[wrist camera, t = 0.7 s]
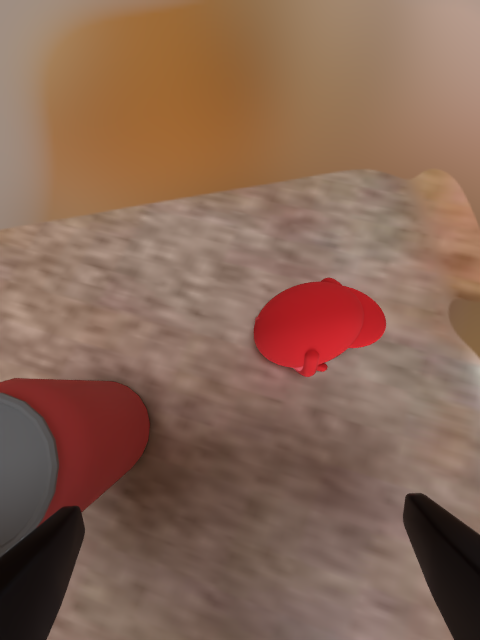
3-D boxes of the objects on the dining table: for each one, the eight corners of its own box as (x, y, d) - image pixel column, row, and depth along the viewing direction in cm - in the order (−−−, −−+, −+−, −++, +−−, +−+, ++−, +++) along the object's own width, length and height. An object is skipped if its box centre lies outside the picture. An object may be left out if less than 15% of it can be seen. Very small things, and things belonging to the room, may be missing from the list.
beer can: (55, 386, 23) (-129, 388, 11) (149, 375, 23) (69, 366, 11) (55, 486, 21) (-153, 609, 10) (155, 472, 22) (72, 575, 10)
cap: (266, 389, 23) (279, 391, 17) (241, 313, 24) (246, 290, 18) (366, 356, 24) (411, 347, 18) (337, 284, 25) (372, 253, 19)
